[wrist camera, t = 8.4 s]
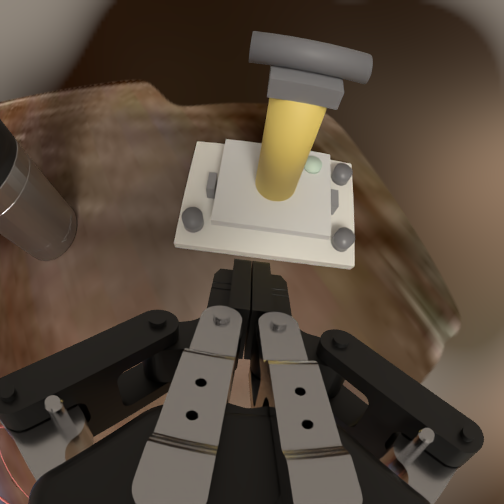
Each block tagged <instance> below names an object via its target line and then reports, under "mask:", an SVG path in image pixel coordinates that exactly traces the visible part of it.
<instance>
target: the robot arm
mask: <svg viewBox="0 0 504 504" xmlns="http://www.w3.org/2000/svg"><path fill="white" fill-rule="evenodd" d="M76 229H77V219H76V215H75V213H74V211H73V209H72V208H71V207H70V206H69V205H68V203H67V202H66V201H65V200H64V199H63V198H62V196H61V195H60V194H59V193H58V192H57V190H56V189H55V188H54V187H53V186H52V184H51V183H50V182H49V181H48V180H47V178H46V177H45V176H44V175H43V173H42V172H41V171H40V170H39V168H38V167H37V166H36V165H35V163H34V162H33V161H32V160H31V158H30V157H29V156H28V155H27V153H26V152H25V151H24V150H23V148H22V147H21V146H20V144H19V143H18V142H17V140H16V139H15V138H14V136H13V135H12V134H11V132H10V131H9V130H8V129H7V127H6V126H5V125H4V123H3V122H2V121H1V120H0V234H1V235H3V236H4V237H6V238H7V239H8V240H10V241H11V242H13V243H14V244H16V245H17V246H19V247H20V248H21V249H23V250H24V251H26V252H27V253H29V254H30V255H32V256H33V257H35V258H37V259H39V260H42V261H50V260H53V259H56V258H57V257H59V256H61V255H62V254H63V253H64V252H65V251H66V250H67V249H68V248H69V246H70V245H71V243H72V241H73V239H74V236H75V234H76ZM244 345H245V350H244ZM243 351H244V359H250V369H249V376H248V377H249V390H250V402H251V408H243V407H240V406H236V405H233V404H230V403H229V401H230V396H231V390H232V384H233V379H234V373H235V370H236V368H237V365H238V358H239V359H242V358H243ZM141 362H142V363H141ZM139 363H140V364H139ZM137 364H139V365H137ZM135 365H137V366H135ZM133 366H135V367H133ZM131 367H133V368H131ZM130 368H131V369H130ZM128 369H129V370H128ZM126 370H128V371H126ZM124 371H126V372H124ZM123 372H124V373H123ZM345 380H347V381H348V382H349V383H350V384H352V385H353V386H354V387H355V388H357V389H358V390H359V391H360V392H362V393H363V394H364V395H365V396H366V397H367V399H368V402H369V405H367V404H366V403H365V402H363V401H362V400H361V399H360V398H358V397H357V396H356V395H355V394H353V393H352V392H351V391H350V390H348V389H347V388H346V387H345V386H343V383H344V381H345ZM167 392H168V394H167V397H166V399H165V402H164V405H160V406H157V407H154V408H151V409H149V410H147V411H145V412H143V413H142V414H140V415H139V416H137V417H136V418H134V419H133V420H131V421H130V422H128V423H127V424H125V425H123V426H122V427H120V428H119V429H117V430H116V431H114V432H113V433H111V434H109V435H108V436H106V437H105V438H103V439H102V440H100V441H98V442H97V443H95V444H93V437H94V436H96V435H98V434H99V433H101V432H103V431H105V430H106V429H108V428H110V427H111V426H113V425H115V424H117V423H118V422H120V421H122V420H123V419H125V418H127V417H128V416H130V415H132V414H133V413H135V412H137V411H138V410H140V409H142V408H143V407H145V406H146V405H148V404H150V403H151V402H153V401H154V400H156V399H158V398H159V397H161V396H162V395H164V394H166V393H167ZM0 421H1V423H2V425H3V426H4V428H5V429H6V430H7V432H8V433H9V434H10V436H11V437H12V438H13V439H14V441H15V442H16V444H17V446H18V448H19V450H20V452H21V454H22V456H23V458H24V460H25V461H26V463H27V465H28V467H29V469H30V470H31V472H32V474H33V476H34V477H35V479H36V481H37V482H36V483H35V484H34V486H33V488H32V490H31V493H30V496H29V503H28V504H434V503H435V501H436V500H437V499H438V497H439V496H440V494H441V493H442V491H443V490H444V488H445V487H446V485H447V484H448V482H449V480H450V479H451V478H452V476H453V474H454V473H455V471H457V470H458V469H459V468H460V467H461V466H462V465H464V464H465V463H466V462H467V461H468V460H469V459H470V458H471V457H472V456H473V455H474V454H475V453H477V452H478V451H479V450H480V449H481V447H482V445H483V442H484V436H483V433H482V430H481V429H480V427H479V426H478V425H477V424H476V423H475V422H474V421H472V420H471V419H469V418H468V417H466V416H465V415H463V414H462V413H461V412H459V411H458V410H456V409H455V408H454V407H452V406H451V405H449V404H448V403H447V402H445V401H443V400H442V399H441V398H439V397H438V396H437V395H435V394H434V393H432V392H431V391H430V390H428V389H427V388H425V387H424V386H422V385H421V384H420V383H418V382H417V381H415V380H414V379H413V378H411V377H410V376H408V375H407V374H406V373H404V372H403V371H401V370H400V369H399V368H397V367H396V366H394V365H393V364H392V363H390V362H389V361H387V360H386V359H385V358H383V357H382V356H380V355H379V354H378V353H376V352H375V351H373V350H372V349H371V348H369V347H368V346H366V345H365V344H364V343H362V342H361V341H359V340H358V339H357V338H355V337H354V336H352V335H351V334H349V333H347V332H345V331H342V330H328V331H325V332H324V333H323V334H322V335H321V338H320V337H317V336H313V335H310V334H307V333H305V332H303V331H301V330H300V329H299V326H298V323H297V321H296V320H295V319H294V318H293V317H292V315H291V308H290V302H289V295H288V289H287V283H286V281H285V280H284V279H283V278H282V277H281V276H279V275H271V272H270V263H266V262H257V261H253V262H252V268H251V261H249V260H240V259H235V260H234V267H233V270H228V269H220V270H219V271H218V272H216V273H215V274H214V279H213V283H212V288H211V292H210V297H209V301H208V306H207V309H205V310H204V311H203V313H202V315H201V317H200V318H198V319H196V320H192V321H186V322H178V319H177V317H176V316H175V315H174V314H172V313H170V312H168V311H164V310H151V311H147V312H145V313H143V314H140V315H138V316H136V317H134V318H132V319H130V320H127V321H125V322H123V323H121V324H119V325H117V326H114V327H112V328H110V329H108V330H106V331H103V332H101V333H99V334H97V335H95V336H93V337H90V338H88V339H86V340H84V341H82V342H79V343H77V344H75V345H73V346H71V347H68V348H66V349H64V350H62V351H60V352H57V353H55V354H53V355H51V356H49V357H46V358H44V359H42V360H40V361H37V362H35V363H33V364H31V365H29V366H26V367H24V368H22V369H20V370H17V371H15V372H13V373H11V374H8V375H6V376H4V377H2V378H0Z"/></svg>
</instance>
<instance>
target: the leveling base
mask: <svg viewBox="0 0 504 504" xmlns="http://www.w3.org/2000/svg"><path fill="white" fill-rule="evenodd" d="M224 146H225V144H219V143H209V142H198V141H197V144H196V148H195V152H194V156H193V160H192V164H191V168H190V172H189V176H188V180H187V185H186V189H185V193H184V198H183V202H182V207H181V211H180V216H179V220H178V225H177V230H176V235H175V240H174V245H175V247H176V248H184V249H191V250H199V251H207V252H215V253H223V254H231V255H239V256H246V257H254V258H262V259H270V260H278V261H286V262H294V263H302V264H310V265H319V266H327V267H335V268H343V269H351V268H353V267H354V241H355V235H354V206H353V184H352V168H351V164H349V163H344V162H339V161H334V160H330V175H331V237H330V238H329V239H328V240H324V239H317V238H310V237H303V236H296V235H288V234H281V233H273V232H266V231H258V230H250V229H242V228H235V227H227V226H219V225H211V216H212V210H213V204H214V199H215V193H216V188H217V183H218V177H219V172H220V167H221V162H222V156H223V151H224Z"/></svg>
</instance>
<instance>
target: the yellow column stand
mask: <svg viewBox="0 0 504 504" xmlns="http://www.w3.org/2000/svg"><path fill="white" fill-rule="evenodd" d="M372 61H373V60H372V56H371V55H370V54H367V53H363V52H359V51H356V50H352V49H348V48H345V47H340V46H336V45H332V44H328V43H323V42H318V41H313V40H309V39H303V38H298V37H292V36H285V35H279V34H272V33H264V32H256V31H253V34H252V40H251V46H250V54H249V62H252V63H259V64H267V65H271V67H270V75H269V83H268V93H267V97H269V104H268V110H267V115H266V121H265V127H264V133H263V139H262V143H254V142H247V141H238V140H230V139H226V141H225V146H224V151H223V156H222V162H221V167H220V172H219V177H218V183H217V188H216V193H215V199H214V204H213V210H212V216H211V225H219V226H227V227H235V228H242V229H250V230H258V231H266V232H273V233H281V234H288V235H296V236H303V237H310V238H317V239H324V240H328V239H329V238H330V237H331V175H330V155H329V154H324V153H319V152H313V151H311V148H312V146H313V143H314V141H315V138H316V135H317V133H318V130H319V127H320V125H321V122H322V120H323V117H324V114H325V112H326V109H327V108H331V109H336V110H337V108H338V106H339V103H340V101H341V99H342V96H343V94H344V88H343V80H342V79H346V80H350V81H354V82H359V83H362V84H366V83H367V82H368V80H369V78H370V75H371V71H372V65H373V64H372V63H373V62H372Z"/></svg>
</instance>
